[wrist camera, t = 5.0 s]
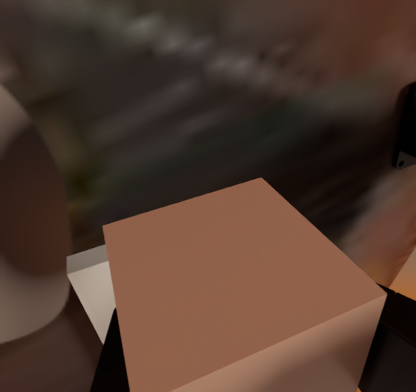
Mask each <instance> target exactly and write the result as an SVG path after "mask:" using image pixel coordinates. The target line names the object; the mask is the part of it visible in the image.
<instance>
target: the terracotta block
mask: <svg viewBox="0 0 416 392" xmlns="http://www.w3.org/2000/svg"><path fill="white" fill-rule="evenodd" d="M103 231H104V237H105V243H106V249H107V255H108V261H109V267H110V273H111V279H112V285H113V291H114V297H115V303H116V309H117V315H118V321H119V327H120V333H121V339H122V345H123V351H124V357H125V363H126V369H127V375H128V381H129V387H130V392H356V391H357V387H358V384H359V381H360V378H361V375H362V372H363V369H364V365H365V362H366V359H367V356H368V353H369V350H370V347H371V343H372V340H373V337H374V334H375V331H376V328H377V325H378V321H379V318H380V315H381V312H382V309H383V306H384V303H385V299H386V296H387V293H386V292H385V291H384V290H383V289H382V288H381V287H379V286H378V285H377V284H376V283H375V282H374V281H373V280H372V279H371V278H370V277H369V276H368V275H366V274H365V273H364V272H363V271H362V270H361V269H360V268H359V267H358V266H357V265H356V264H355V263H353V262H352V261H351V260H350V259H349V258H348V257H347V256H346V255H345V254H344V253H343V252H342V251H340V250H339V249H338V248H337V247H336V246H335V245H334V244H333V243H332V242H331V241H330V240H329V239H327V238H326V237H325V236H324V235H323V234H322V233H321V232H320V231H319V230H318V229H317V228H316V227H314V226H313V225H312V224H311V223H310V222H309V221H308V220H307V219H306V218H305V217H304V216H303V215H302V214H300V213H299V212H298V211H297V210H296V209H295V208H294V207H293V206H292V205H291V204H290V203H289V202H287V201H286V200H285V199H284V198H283V197H282V196H281V195H280V194H279V193H278V192H277V191H276V190H274V189H273V188H272V187H271V186H270V185H269V184H268V183H267V182H266V181H265V180H264V179H263V178H258V179H255V180H251V181H248V182H245V183H241V184H238V185H235V186H232V187H228V188H225V189H222V190H219V191H215V192H212V193H209V194H205V195H202V196H199V197H196V198H192V199H189V200H186V201H183V202H179V203H176V204H173V205H169V206H166V207H163V208H160V209H156V210H153V211H150V212H147V213H143V214H140V215H137V216H134V217H130V218H127V219H124V220H120V221H117V222H114V223H111V224H107V225H104V226H103Z"/></svg>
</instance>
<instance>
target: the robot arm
mask: <svg viewBox="0 0 416 392" xmlns="http://www.w3.org/2000/svg"><path fill="white" fill-rule="evenodd" d="M414 164H416V82H415V83H414V84H413V85H412V87H411V89H410V92H409V96H408V100H407V104H406V108H405V112H404V116H403V120H402V124H401V128H400V132H399V136H398V141H397V145H396V149H395V153H394V157H393V161H392V167H394V168H396V169H402V168H405V167H408V166H411V165H414ZM375 283H376V282H375ZM376 284H377V285H378V286H379V287H381V288H382V289H383V290H384V291H385V292H386V293H387V296H386V299H385V303H384V306H383V309H382V312H381V315H380V318H379V321H378V325H377V328H376V331H375V334H374V337H373V340H372V343H371V347H370V350H369V353H368V356H367V359H366V362H365V365H364V369H363V372H362V375H361V378H360V381H359V384H358V388H359V389H360V390H361V392H416V301H415V300H413V299H411V298H408V297H406V296H404V295H402V294H400V293H396V292H395V291H393V290H391V289H389V288H387V287H385V286H382V285H380V284H378V283H376ZM90 392H130V387H129V381H128V375H127V369H126V363H125V357H124V351H123V345H122V339H121V333H120V327H119V321H118V315H117V309H116V308H115V309H114V310H113V313H112V317H111V320H110V324H109V327H108V331H107V334H106V338H105V341H104V344H103V348H102V351H101V355H100V358H99V362H98V365H97V368H96V372H95V375H94V379H93V382H92V386H91V389H90Z"/></svg>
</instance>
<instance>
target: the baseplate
mask: <svg viewBox="0 0 416 392" xmlns="http://www.w3.org/2000/svg"><path fill="white" fill-rule="evenodd" d="M67 276H68V278H69V280H70V282H71V284H72V286H73V288H74V290H75V291H76V293H77V295H78V297H79V299H80V301H81V303H82V305H83V307H84V309H85V311H86V313H87V314H88V316H89V318H90V320H91V322H92V324H93V326H94V328H95V330H96V332H97V334H98V336H99V338H100V339H101V341H102V343H103V344H104V341H105V338H106V334H107V331H108V327H109V324H110V320H111V317H112V313H113V310H114V309H115V308H116V303H115V297H114V291H113V285H112V279H111V273H110V267H109V261H108V255H107V249H106V244H105V245H102V246H99V247H96V248H93V249H89V250H86V251H83V252H80V253H77V254H74V255H71V256H67Z"/></svg>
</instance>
